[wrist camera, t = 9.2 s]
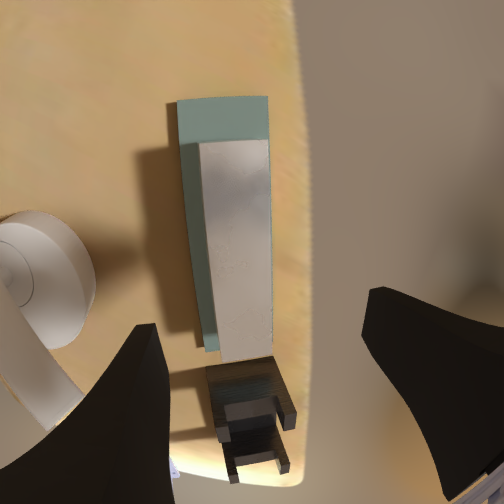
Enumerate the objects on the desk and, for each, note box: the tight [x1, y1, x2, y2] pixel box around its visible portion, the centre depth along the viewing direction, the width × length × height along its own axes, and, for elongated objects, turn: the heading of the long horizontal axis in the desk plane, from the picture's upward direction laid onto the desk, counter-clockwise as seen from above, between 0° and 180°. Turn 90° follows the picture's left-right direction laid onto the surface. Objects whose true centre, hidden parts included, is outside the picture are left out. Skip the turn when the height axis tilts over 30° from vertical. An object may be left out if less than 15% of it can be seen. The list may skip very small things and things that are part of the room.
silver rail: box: [197, 138, 272, 362], centre depth 16 cm, size 12×3×3 cm, turn 3°
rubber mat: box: [177, 96, 273, 352], centre depth 18 cm, size 16×5×1 cm, turn 3°
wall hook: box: [0, 210, 96, 431], centre depth 12 cm, size 9×10×10 cm
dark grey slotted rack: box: [206, 356, 297, 484], centre depth 21 cm, size 10×5×6 cm, turn 3°
